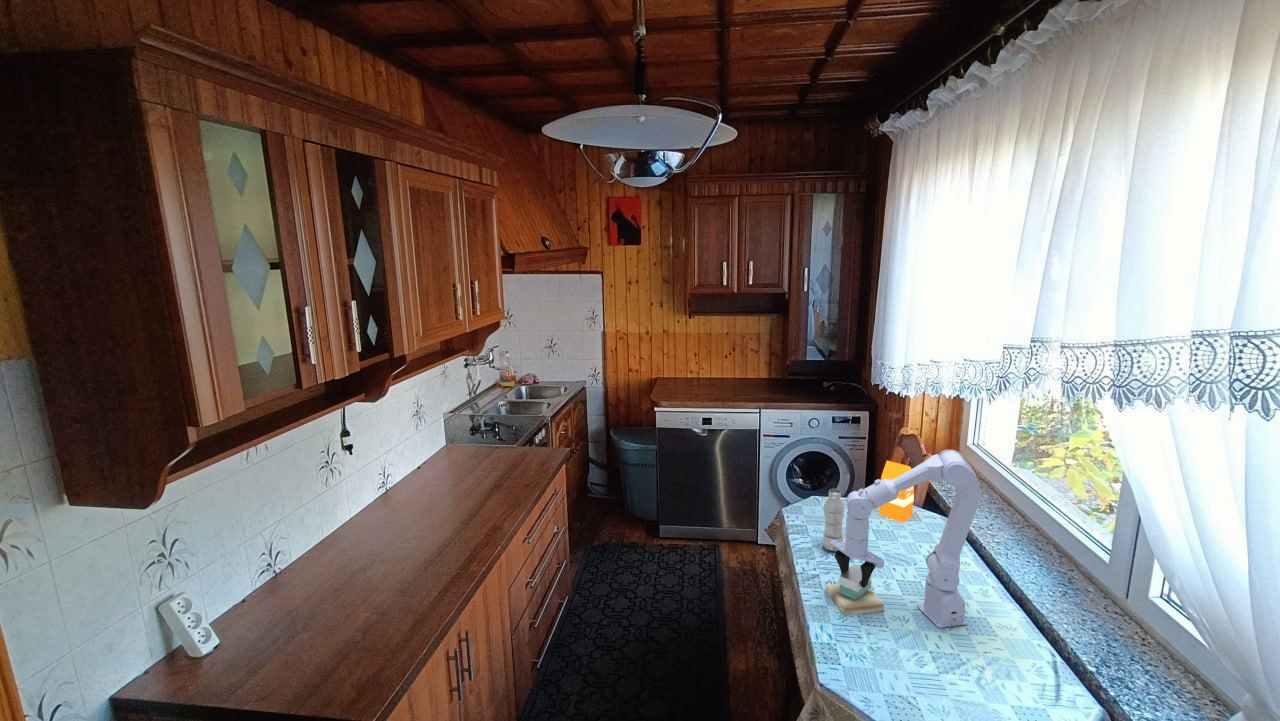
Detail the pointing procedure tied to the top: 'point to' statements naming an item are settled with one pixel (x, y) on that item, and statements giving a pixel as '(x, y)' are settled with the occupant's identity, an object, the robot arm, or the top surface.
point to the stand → (855, 601)
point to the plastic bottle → (833, 519)
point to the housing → (853, 583)
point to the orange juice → (904, 503)
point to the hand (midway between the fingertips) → (854, 581)
